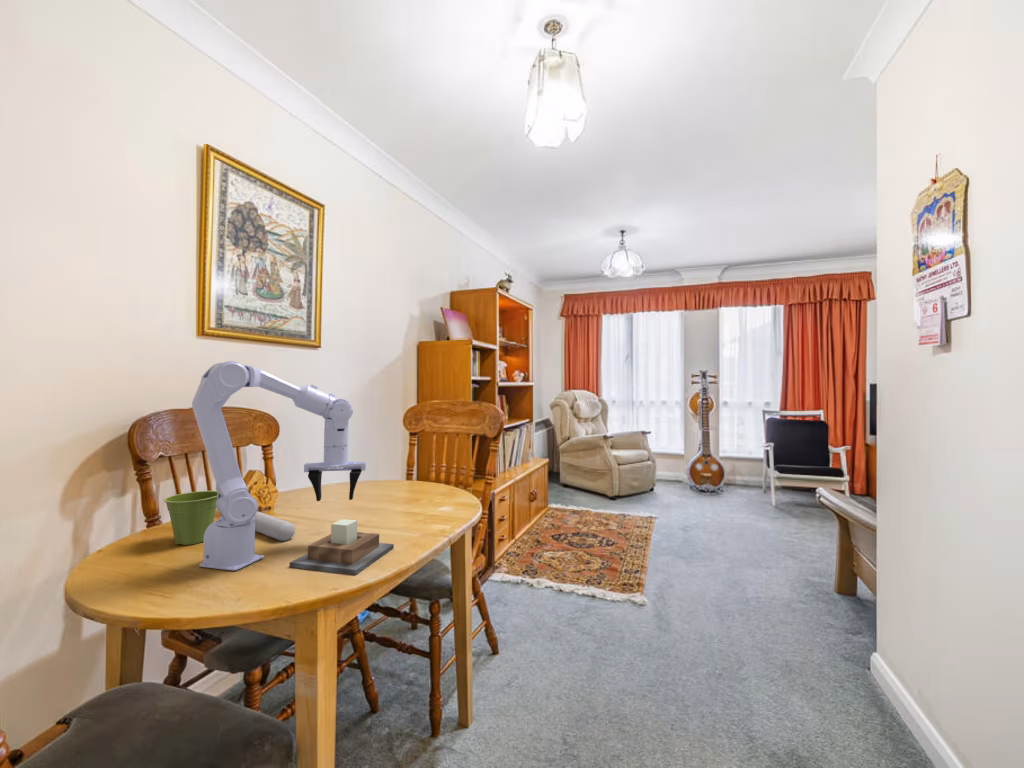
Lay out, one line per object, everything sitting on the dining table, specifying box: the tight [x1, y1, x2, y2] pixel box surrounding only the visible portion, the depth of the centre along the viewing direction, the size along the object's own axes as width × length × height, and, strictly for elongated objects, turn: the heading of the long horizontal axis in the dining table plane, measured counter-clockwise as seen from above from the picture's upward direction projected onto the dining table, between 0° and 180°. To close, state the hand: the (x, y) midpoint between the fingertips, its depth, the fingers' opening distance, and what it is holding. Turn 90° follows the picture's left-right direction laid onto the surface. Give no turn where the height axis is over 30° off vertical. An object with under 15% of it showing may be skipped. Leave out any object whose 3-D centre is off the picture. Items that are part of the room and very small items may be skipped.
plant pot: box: [163, 490, 218, 546], centre depth 110 cm, size 12×12×11 cm
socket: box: [289, 531, 395, 576], centre depth 100 cm, size 16×16×4 cm
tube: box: [254, 510, 296, 542], centre depth 118 cm, size 5×5×25 cm
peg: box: [330, 518, 358, 545], centre depth 100 cm, size 4×4×7 cm
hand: (335, 499), depth 111 cm, fingers open, 7 cm apart
